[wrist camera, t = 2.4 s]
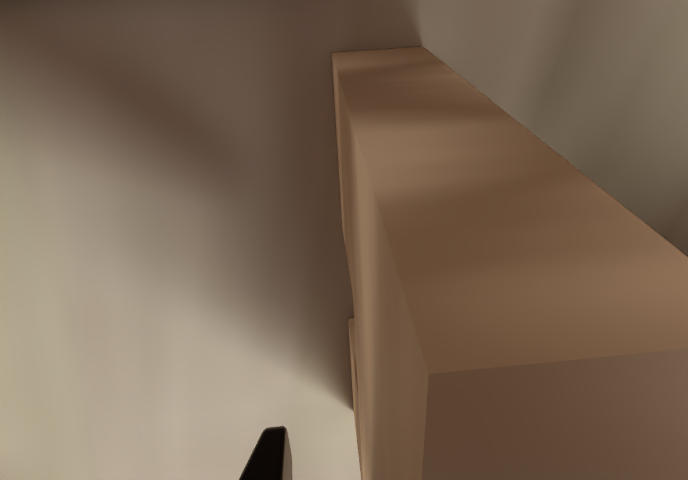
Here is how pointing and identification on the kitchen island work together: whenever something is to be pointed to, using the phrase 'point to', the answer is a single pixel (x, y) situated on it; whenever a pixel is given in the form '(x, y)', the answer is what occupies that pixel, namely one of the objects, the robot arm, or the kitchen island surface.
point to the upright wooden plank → (497, 294)
